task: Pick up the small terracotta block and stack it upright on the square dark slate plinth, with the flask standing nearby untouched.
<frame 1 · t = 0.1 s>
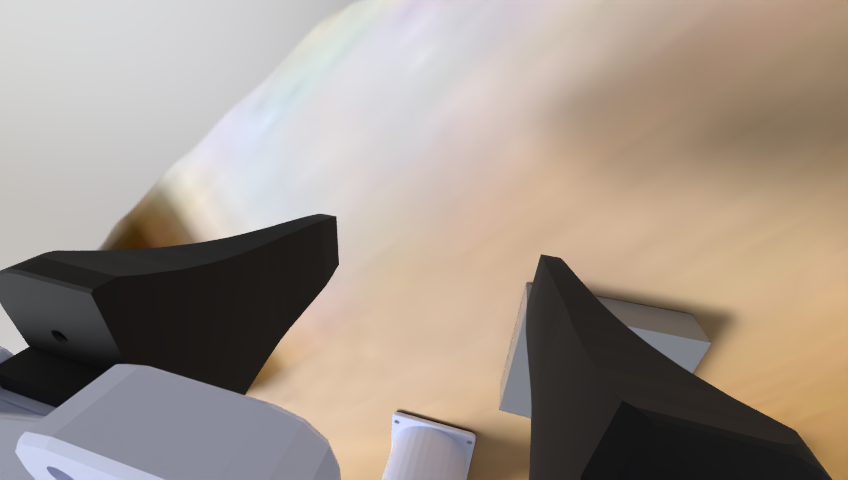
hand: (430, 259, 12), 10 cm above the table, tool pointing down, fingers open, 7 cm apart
slate plinth: (583, 353, 24), on the table
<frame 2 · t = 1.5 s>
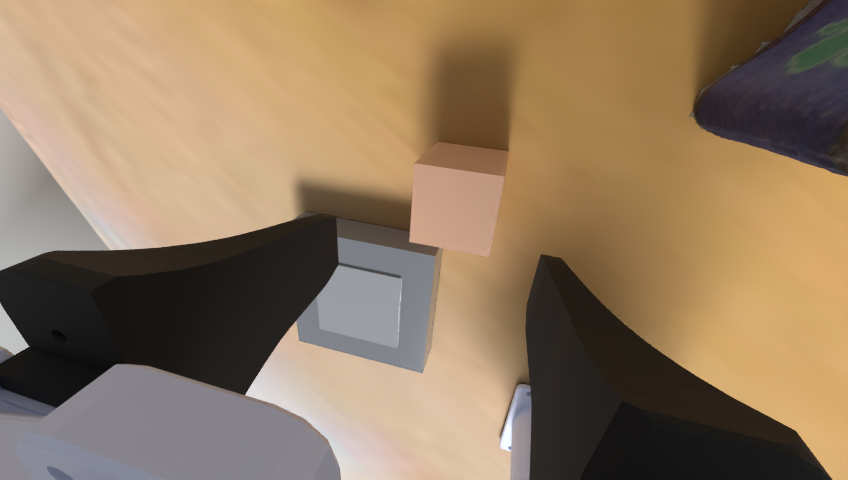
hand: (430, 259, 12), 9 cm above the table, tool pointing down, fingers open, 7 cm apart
slate plinth: (371, 284, 25), on the table
terracotta block: (467, 180, 20), on the table
flask: (807, 40, 14), on the table
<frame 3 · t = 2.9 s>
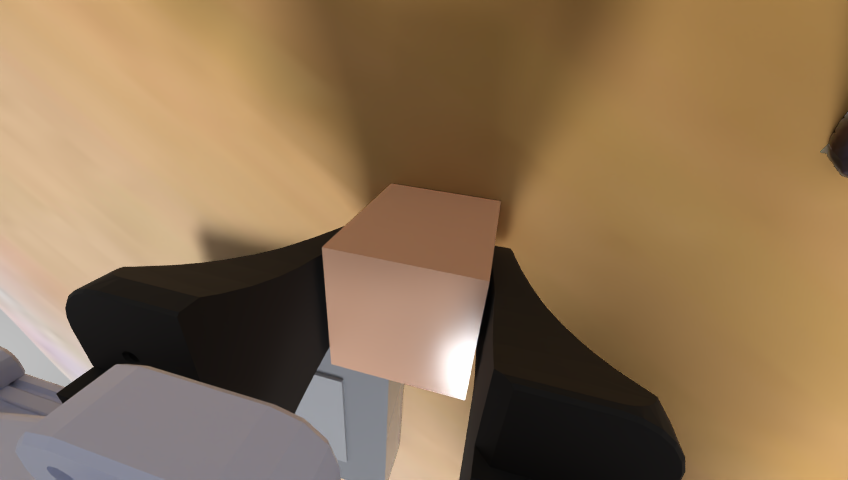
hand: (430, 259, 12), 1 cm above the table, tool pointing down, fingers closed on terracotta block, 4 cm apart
slate plinth: (315, 365, 18), on the table
terracotta block: (438, 241, 13), on the table, touching gripper
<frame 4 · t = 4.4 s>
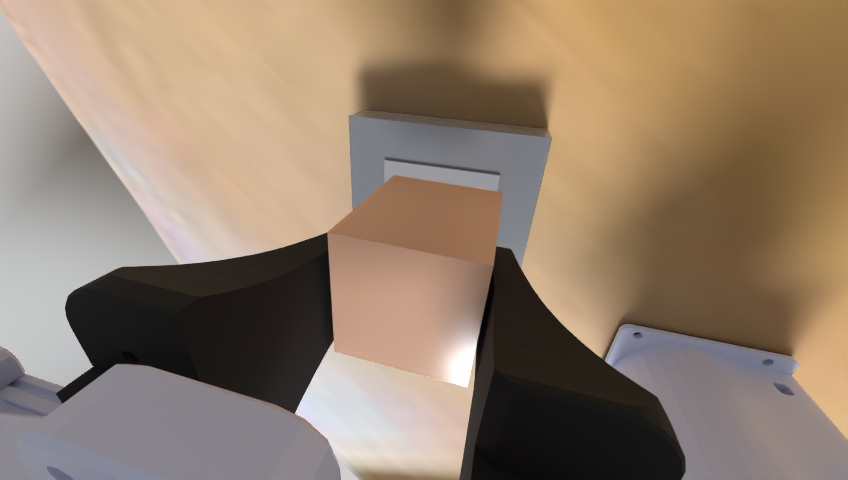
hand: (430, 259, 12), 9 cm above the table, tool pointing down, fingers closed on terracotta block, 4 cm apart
slate plinth: (444, 203, 21), on the table
terracotta block: (441, 232, 13), point 8 cm above the table, touching gripper
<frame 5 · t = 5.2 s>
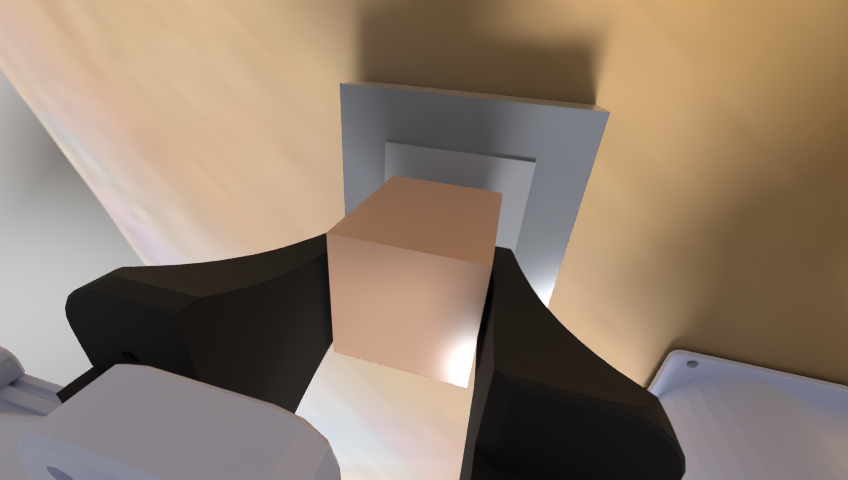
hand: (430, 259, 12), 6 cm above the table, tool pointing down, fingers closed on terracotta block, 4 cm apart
slate plinth: (458, 199, 17), on the table
terracotta block: (440, 233, 13), point 4 cm above the table, touching gripper
when the fingers open (5 cm above the table, at t = 5.9 s): terracotta block stays where it is, resting on slate plinth.
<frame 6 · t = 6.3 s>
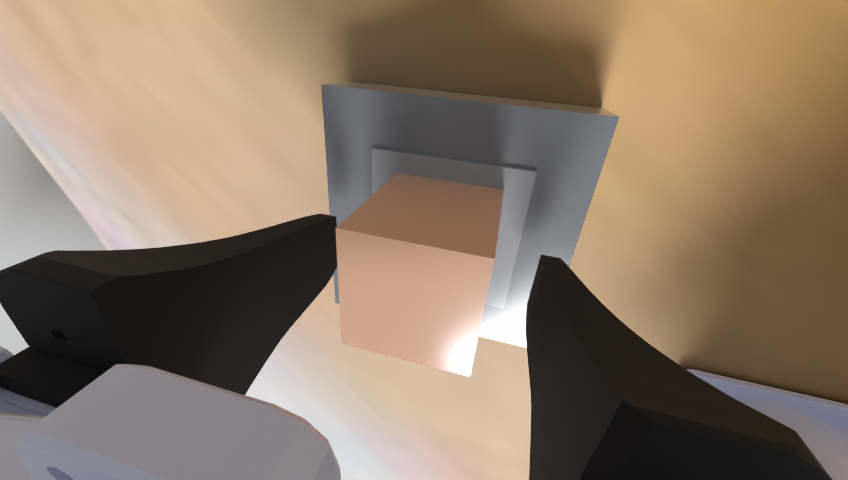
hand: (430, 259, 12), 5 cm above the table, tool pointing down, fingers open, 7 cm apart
slate plinth: (453, 209, 16), on the table
terracotta block: (443, 229, 13), point 3 cm above the table, touching slate plinth
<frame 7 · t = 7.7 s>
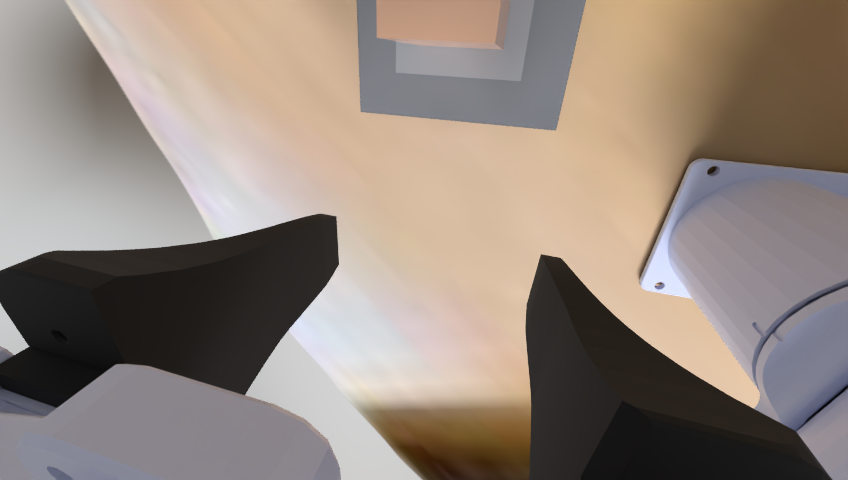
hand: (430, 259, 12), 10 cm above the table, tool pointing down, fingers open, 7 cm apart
slate plinth: (470, 8, 17), on the table
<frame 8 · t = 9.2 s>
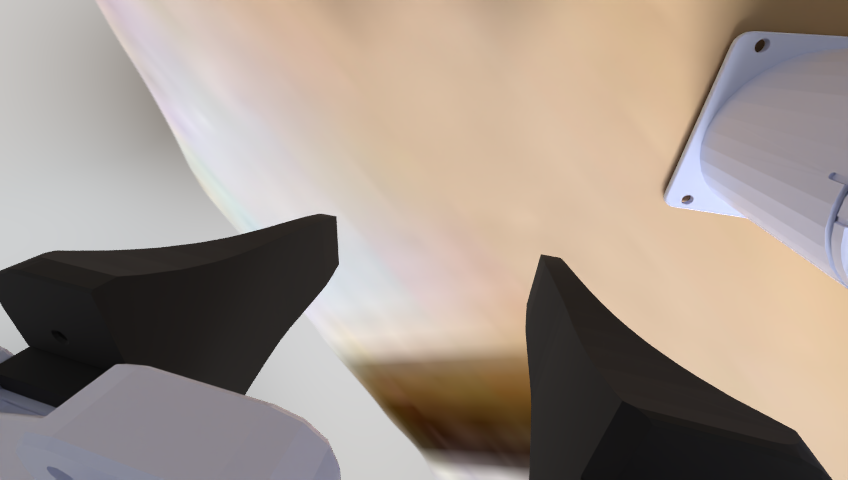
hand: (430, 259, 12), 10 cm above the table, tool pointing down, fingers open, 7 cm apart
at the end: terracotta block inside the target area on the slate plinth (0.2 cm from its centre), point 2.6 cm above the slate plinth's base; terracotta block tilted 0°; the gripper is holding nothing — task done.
